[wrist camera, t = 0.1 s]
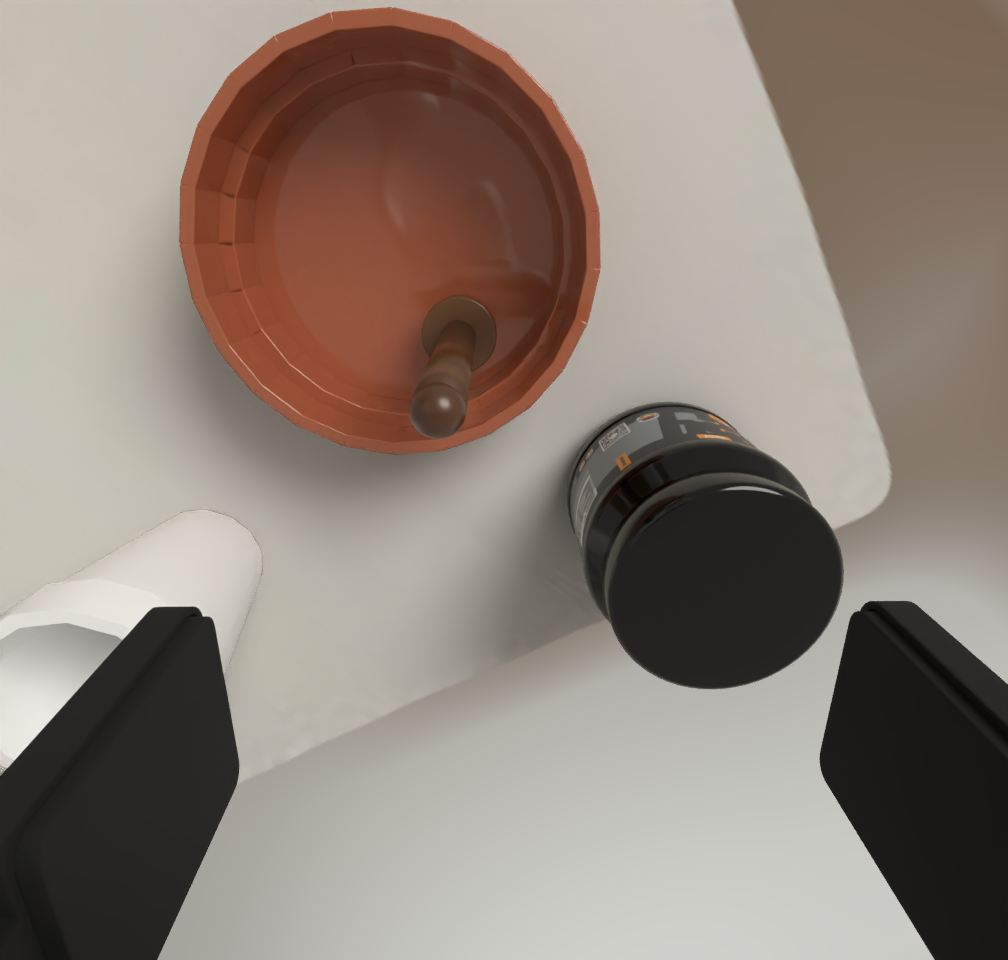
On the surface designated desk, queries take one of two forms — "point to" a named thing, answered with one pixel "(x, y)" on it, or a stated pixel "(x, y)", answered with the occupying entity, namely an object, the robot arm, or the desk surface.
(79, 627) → the foam cup
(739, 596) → the supplement container
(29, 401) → the desk surface
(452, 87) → the bowl
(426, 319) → the flanged wooden peg
